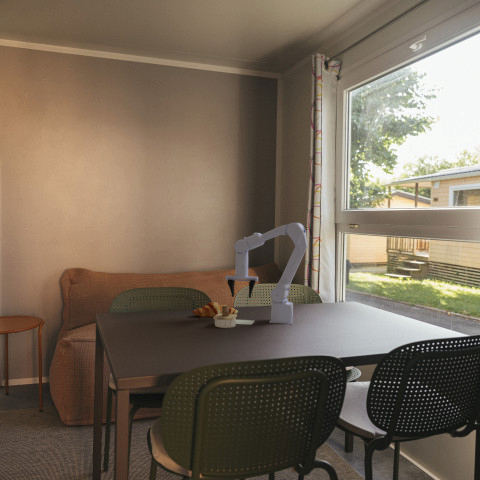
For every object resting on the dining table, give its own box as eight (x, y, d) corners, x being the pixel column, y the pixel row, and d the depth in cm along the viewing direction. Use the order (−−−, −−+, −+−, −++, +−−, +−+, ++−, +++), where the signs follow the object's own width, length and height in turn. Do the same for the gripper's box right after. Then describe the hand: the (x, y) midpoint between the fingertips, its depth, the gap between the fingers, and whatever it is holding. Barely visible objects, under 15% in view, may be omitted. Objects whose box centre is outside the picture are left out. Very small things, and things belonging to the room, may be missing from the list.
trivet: (255, 321, 197) (255, 320, 197) (251, 325, 189) (251, 324, 189) (234, 320, 199) (234, 319, 199) (230, 324, 191) (230, 323, 191)
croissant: (235, 321, 213) (234, 305, 217) (241, 315, 204) (239, 298, 208) (191, 322, 207) (190, 305, 211) (195, 316, 199) (194, 298, 202)
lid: (236, 316, 190) (237, 305, 190) (232, 320, 182) (232, 308, 182) (218, 315, 192) (218, 304, 192) (213, 319, 184) (213, 307, 184)
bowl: (237, 324, 190) (237, 316, 190) (232, 329, 182) (232, 320, 182) (217, 323, 192) (218, 315, 192) (212, 327, 184) (212, 319, 184)
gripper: (259, 266, 204) (258, 296, 204) (227, 265, 206) (227, 294, 207) (256, 267, 197) (256, 298, 197) (224, 266, 199) (224, 297, 200)
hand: (241, 296), depth 201 cm, fingers open, 7 cm apart
